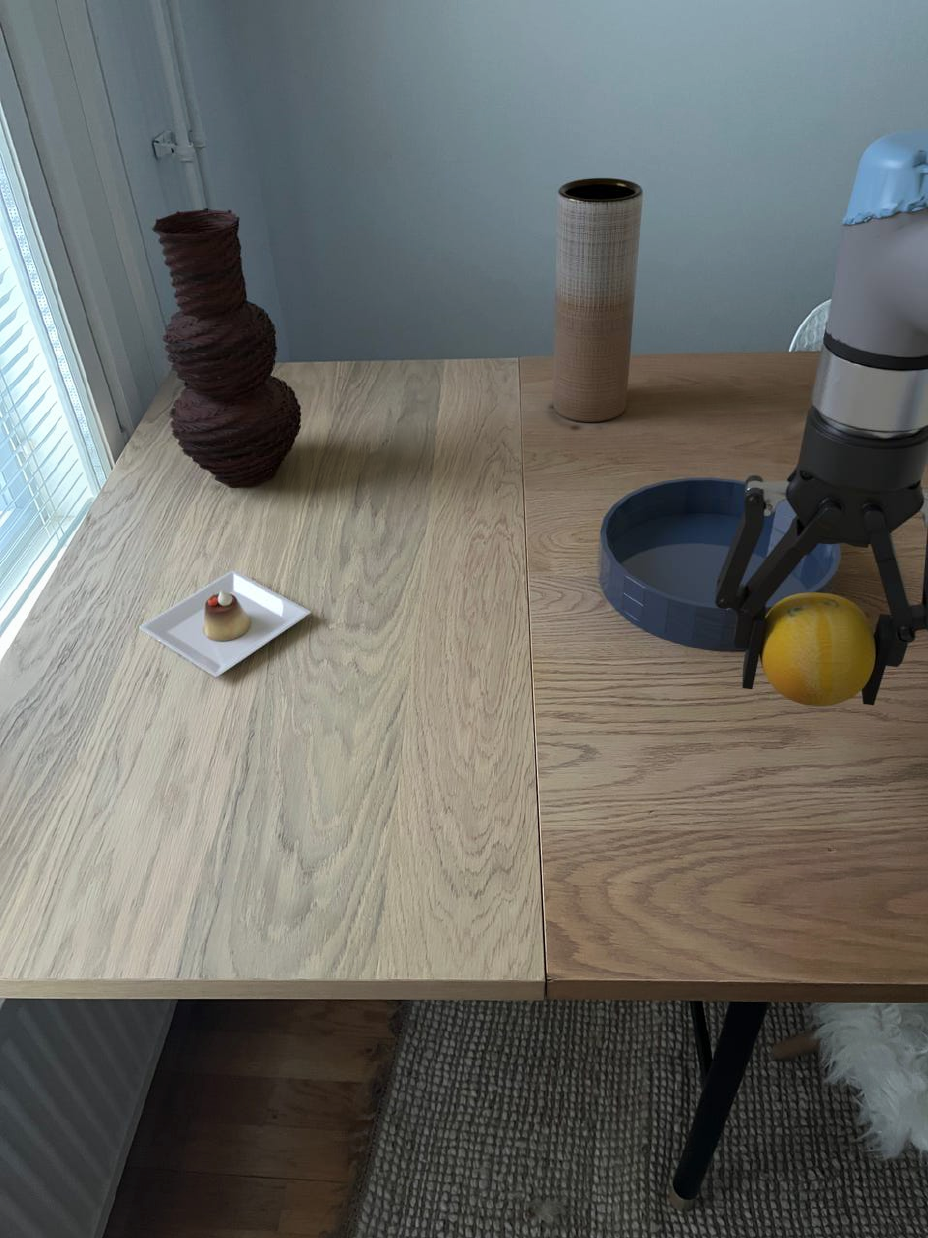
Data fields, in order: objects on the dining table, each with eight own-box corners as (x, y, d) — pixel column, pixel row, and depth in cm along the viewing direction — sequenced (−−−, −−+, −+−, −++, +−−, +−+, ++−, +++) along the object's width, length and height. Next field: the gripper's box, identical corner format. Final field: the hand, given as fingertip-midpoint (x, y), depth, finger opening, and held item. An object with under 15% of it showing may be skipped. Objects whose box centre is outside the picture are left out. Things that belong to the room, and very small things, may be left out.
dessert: (140, 635, 94) (128, 597, 90) (235, 577, 101) (226, 540, 98) (218, 686, 87) (207, 646, 84) (313, 620, 94) (306, 582, 91)
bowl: (825, 528, 104) (834, 488, 101) (835, 666, 86) (847, 624, 83) (613, 506, 109) (616, 468, 106) (582, 633, 91) (584, 592, 88)
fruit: (732, 659, 76) (746, 578, 71) (827, 644, 77) (847, 562, 72) (782, 736, 69) (802, 652, 64) (885, 718, 70) (912, 634, 65)
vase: (176, 509, 112) (106, 248, 93) (193, 446, 124) (134, 204, 105) (307, 498, 112) (264, 238, 94) (311, 437, 124) (274, 195, 105)
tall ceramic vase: (594, 383, 134) (605, 172, 116) (641, 409, 127) (661, 189, 110) (537, 403, 130) (541, 187, 112) (583, 430, 123) (594, 205, 106)
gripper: (1045, 396, 59) (946, 671, 73) (703, 375, 64) (672, 637, 78) (1074, 454, 53) (961, 739, 67) (696, 426, 58) (664, 699, 72)
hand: (806, 684), depth 73 cm, fingers closed on fruit, 8 cm apart
